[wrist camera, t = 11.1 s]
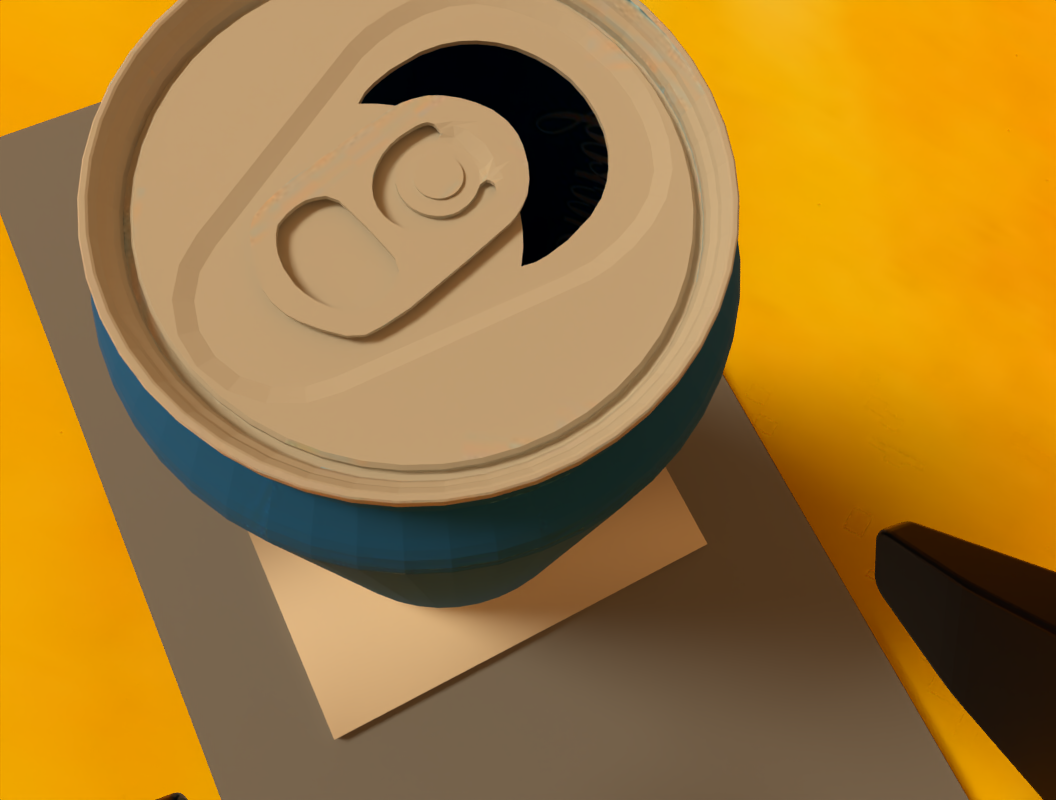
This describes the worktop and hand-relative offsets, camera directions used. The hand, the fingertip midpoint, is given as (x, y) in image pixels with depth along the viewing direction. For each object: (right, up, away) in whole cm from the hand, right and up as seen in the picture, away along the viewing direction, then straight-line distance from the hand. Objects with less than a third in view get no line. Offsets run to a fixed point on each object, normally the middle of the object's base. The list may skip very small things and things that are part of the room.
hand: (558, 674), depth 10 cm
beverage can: (-2, +2, +9) cm, 9 cm away
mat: (-2, +2, +9) cm, 10 cm away
